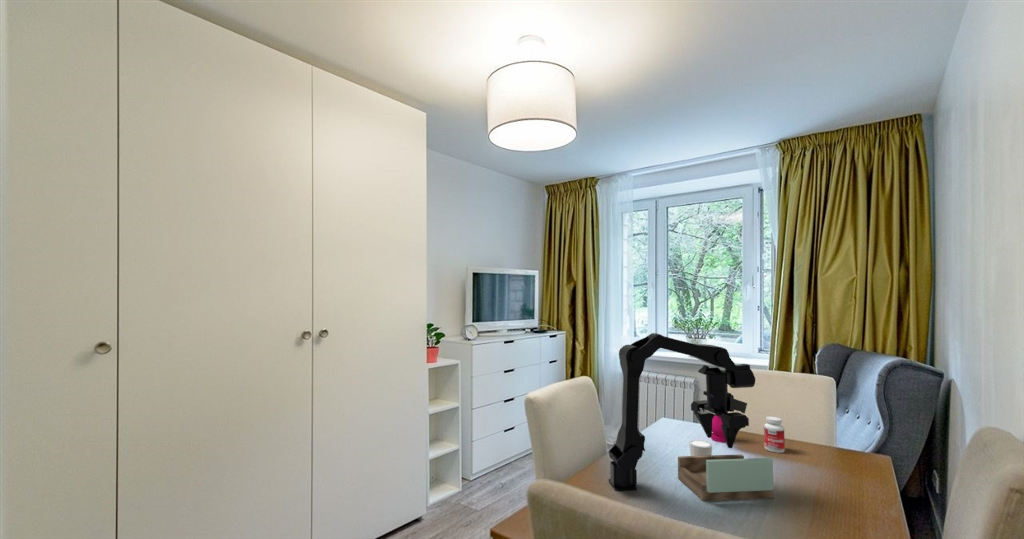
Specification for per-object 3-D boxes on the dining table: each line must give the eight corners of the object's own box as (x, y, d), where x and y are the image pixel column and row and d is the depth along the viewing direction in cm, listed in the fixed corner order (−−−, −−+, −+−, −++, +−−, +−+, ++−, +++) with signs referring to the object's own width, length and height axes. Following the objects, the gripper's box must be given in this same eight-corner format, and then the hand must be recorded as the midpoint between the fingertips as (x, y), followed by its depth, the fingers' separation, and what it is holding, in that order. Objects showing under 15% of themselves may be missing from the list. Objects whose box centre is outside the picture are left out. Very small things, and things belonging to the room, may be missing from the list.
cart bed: (702, 501, 118) (702, 476, 118) (678, 478, 132) (677, 456, 132) (773, 498, 120) (772, 473, 120) (741, 476, 133) (741, 454, 134)
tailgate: (709, 492, 116) (708, 461, 117) (706, 490, 118) (706, 459, 118) (773, 490, 118) (772, 459, 118) (770, 488, 119) (769, 457, 120)
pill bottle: (766, 452, 154) (765, 419, 154) (762, 446, 160) (762, 415, 160) (786, 454, 152) (785, 421, 152) (782, 448, 157) (781, 416, 158)
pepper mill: (734, 443, 163) (733, 388, 164) (714, 443, 163) (713, 388, 164) (725, 436, 170) (724, 384, 171) (706, 436, 170) (705, 383, 171)
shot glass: (715, 470, 138) (714, 447, 138) (691, 469, 139) (691, 446, 139) (709, 462, 144) (709, 440, 145) (687, 460, 146) (687, 439, 146)
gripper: (764, 393, 123) (767, 451, 122) (720, 380, 141) (722, 430, 140) (729, 396, 121) (732, 455, 120) (688, 383, 139) (691, 433, 138)
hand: (719, 442), depth 130 cm, fingers open, 9 cm apart
